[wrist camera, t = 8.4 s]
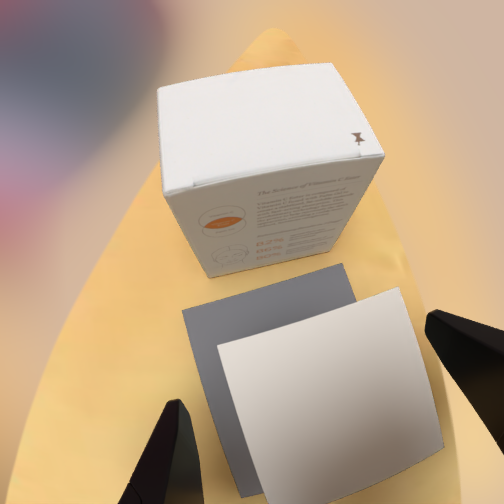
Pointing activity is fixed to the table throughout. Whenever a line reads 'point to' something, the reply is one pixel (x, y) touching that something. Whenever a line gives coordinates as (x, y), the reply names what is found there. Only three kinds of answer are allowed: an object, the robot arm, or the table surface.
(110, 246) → the table surface
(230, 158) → the small box
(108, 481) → the table surface
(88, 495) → the table surface
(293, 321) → the felt coaster
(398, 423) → the tea tin
